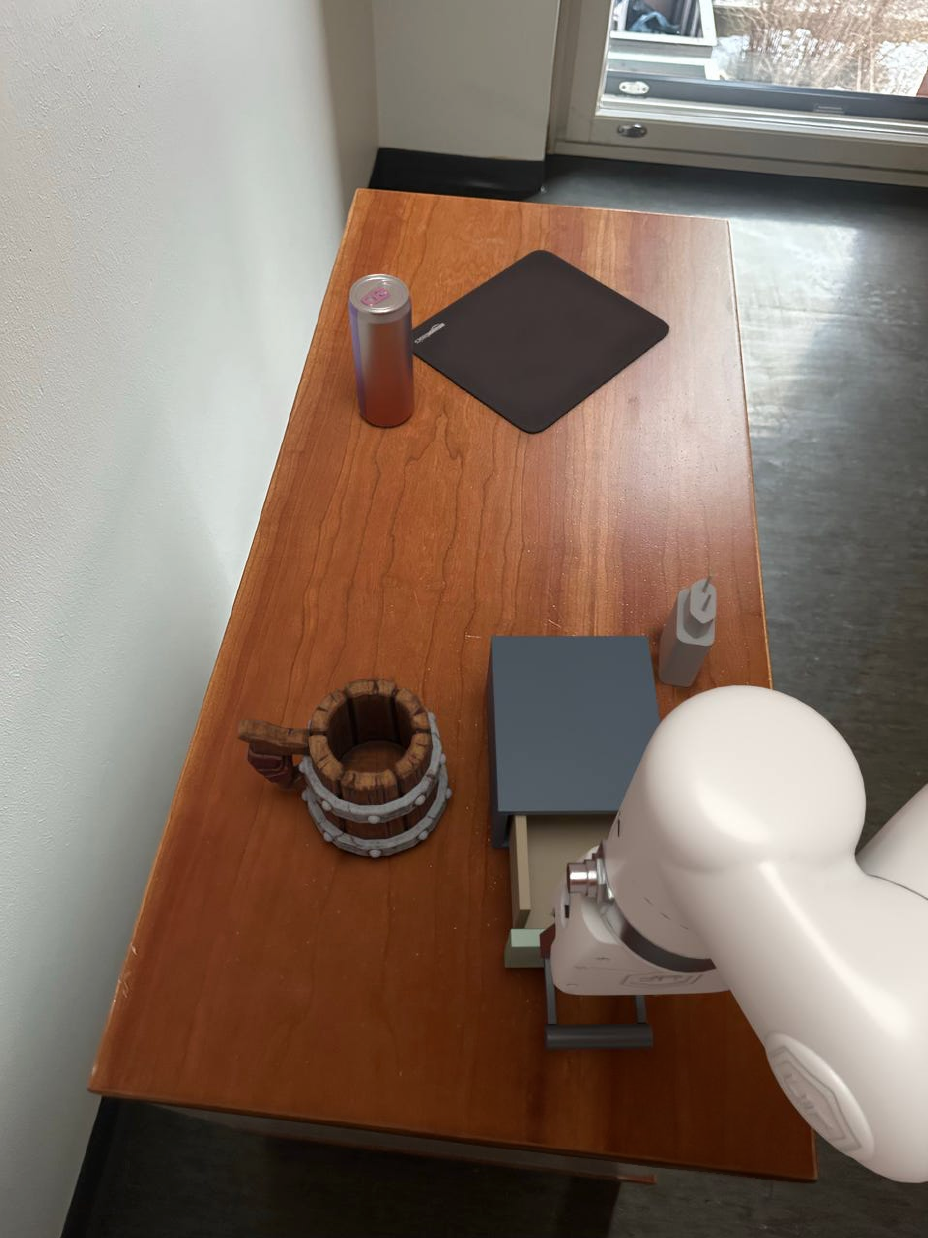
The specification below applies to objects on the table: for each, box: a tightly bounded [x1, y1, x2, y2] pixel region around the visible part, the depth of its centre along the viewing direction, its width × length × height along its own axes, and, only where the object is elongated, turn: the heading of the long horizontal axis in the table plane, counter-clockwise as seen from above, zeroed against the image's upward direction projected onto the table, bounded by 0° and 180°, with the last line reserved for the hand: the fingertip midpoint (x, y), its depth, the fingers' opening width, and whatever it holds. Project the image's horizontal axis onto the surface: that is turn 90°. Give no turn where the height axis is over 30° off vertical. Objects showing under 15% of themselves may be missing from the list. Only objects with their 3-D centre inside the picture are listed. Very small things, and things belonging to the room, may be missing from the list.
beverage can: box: [347, 273, 415, 428], centre depth 90 cm, size 6×6×15 cm
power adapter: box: [657, 573, 717, 688], centre depth 75 cm, size 3×5×12 cm, turn 171°
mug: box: [237, 677, 453, 858], centre depth 67 cm, size 12×14×15 cm
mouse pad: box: [412, 249, 670, 434], centre depth 103 cm, size 25×21×1 cm
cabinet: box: [485, 635, 662, 850], centre depth 71 cm, size 15×13×9 cm
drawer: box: [503, 814, 654, 1051], centre depth 65 cm, size 20×11×7 cm, turn 1°
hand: (617, 969), depth 55 cm, fingers closed
